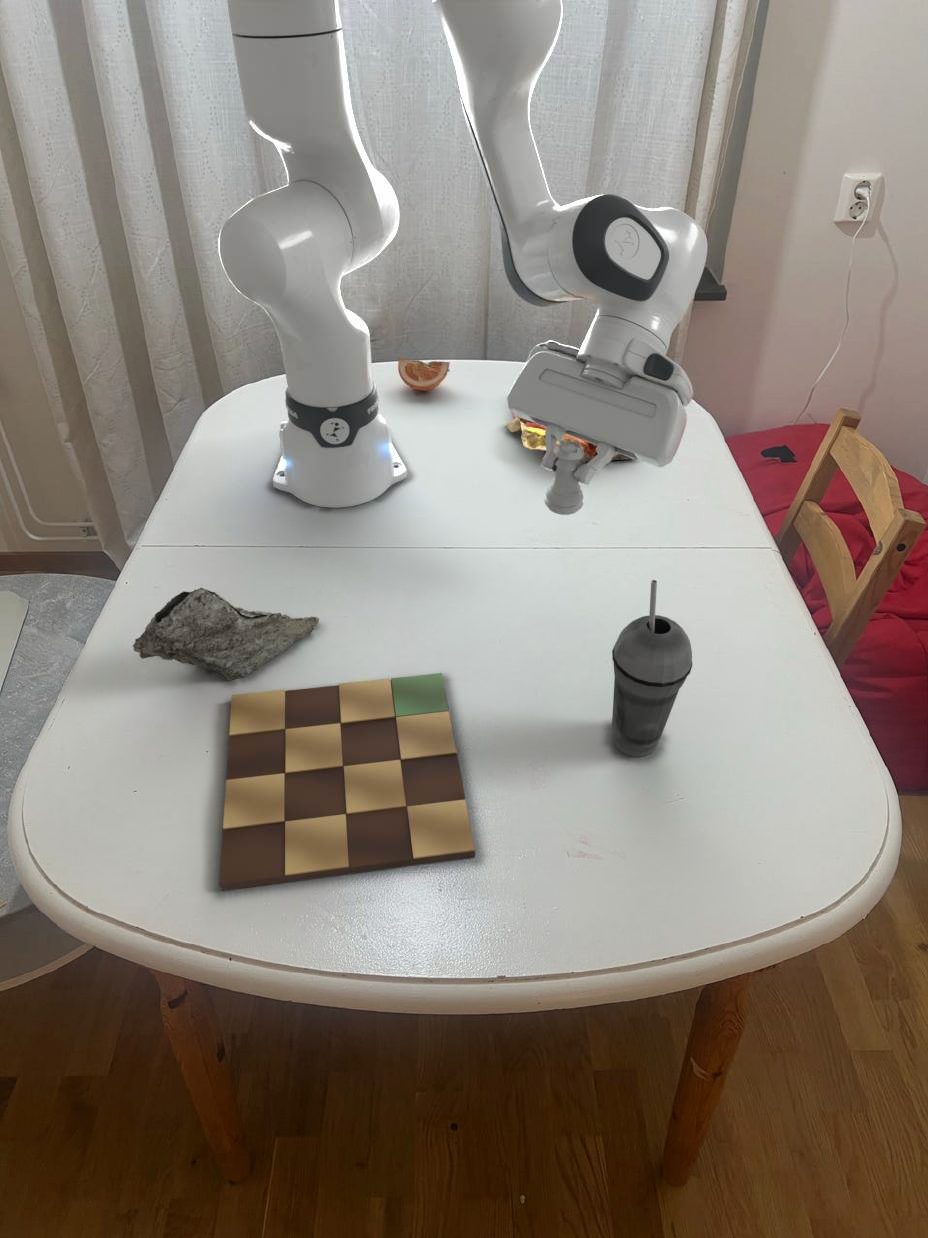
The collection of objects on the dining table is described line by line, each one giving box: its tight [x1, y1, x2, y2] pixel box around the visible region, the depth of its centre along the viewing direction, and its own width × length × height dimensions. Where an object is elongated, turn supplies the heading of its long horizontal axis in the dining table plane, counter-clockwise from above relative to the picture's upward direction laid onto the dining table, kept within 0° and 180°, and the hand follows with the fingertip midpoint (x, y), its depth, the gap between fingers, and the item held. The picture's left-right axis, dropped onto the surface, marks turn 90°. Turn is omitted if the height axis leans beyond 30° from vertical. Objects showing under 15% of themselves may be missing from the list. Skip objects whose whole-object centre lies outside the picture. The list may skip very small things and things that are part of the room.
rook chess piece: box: [544, 438, 584, 516], centre depth 95 cm, size 4×4×8 cm
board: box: [218, 672, 476, 891], centre depth 82 cm, size 22×22×1 cm
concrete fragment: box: [132, 587, 320, 681], centre depth 90 cm, size 6×19×11 cm, turn 131°
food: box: [504, 412, 634, 464], centre depth 131 cm, size 22×19×4 cm
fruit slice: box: [397, 358, 451, 391], centre depth 140 cm, size 8×7×5 cm
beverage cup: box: [611, 579, 693, 758], centre depth 79 cm, size 7×7×20 cm
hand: (564, 475), depth 95 cm, fingers closed on rook chess piece, 3 cm apart
